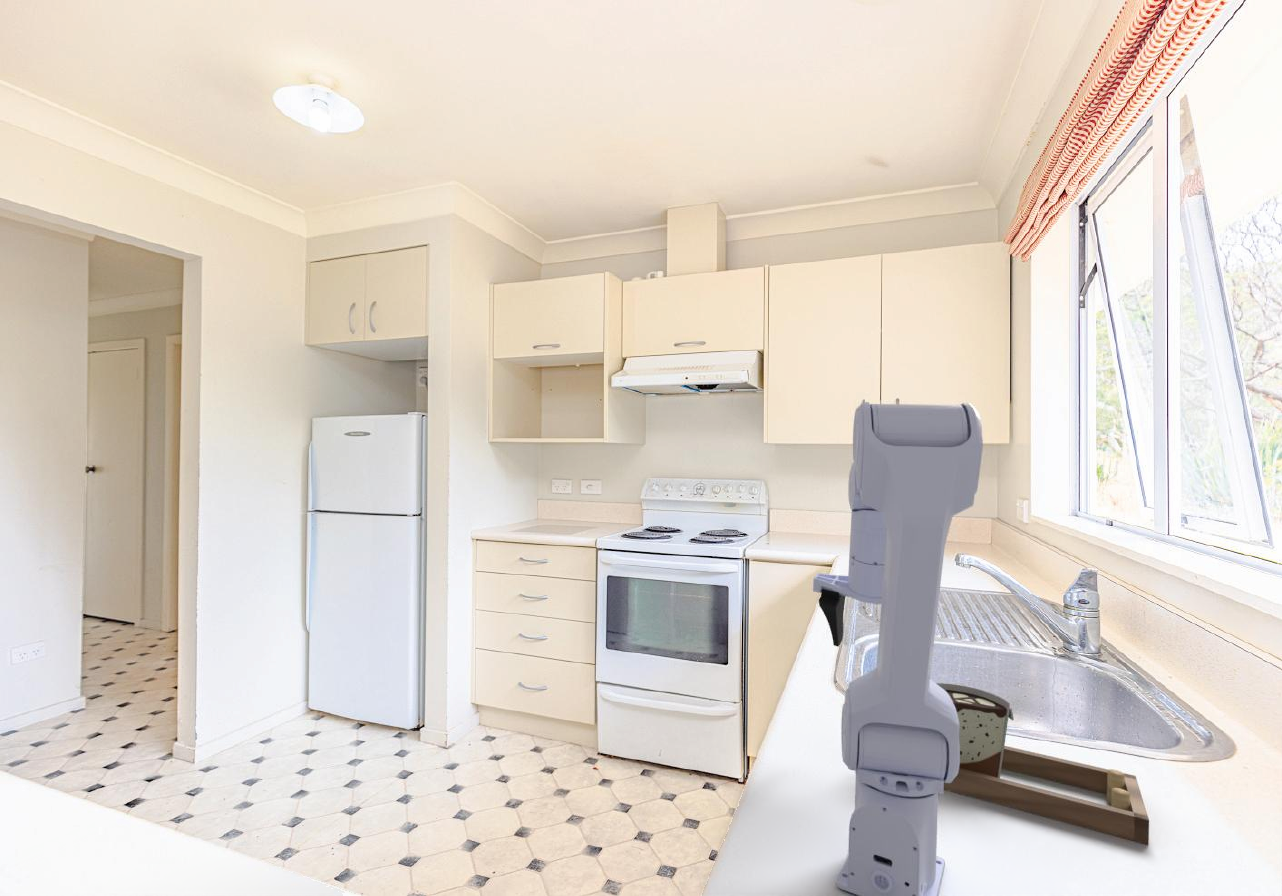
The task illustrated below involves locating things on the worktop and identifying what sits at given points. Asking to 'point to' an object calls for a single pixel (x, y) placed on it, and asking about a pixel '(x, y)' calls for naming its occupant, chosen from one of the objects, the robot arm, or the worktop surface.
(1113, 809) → the rail frame
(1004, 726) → the food container
